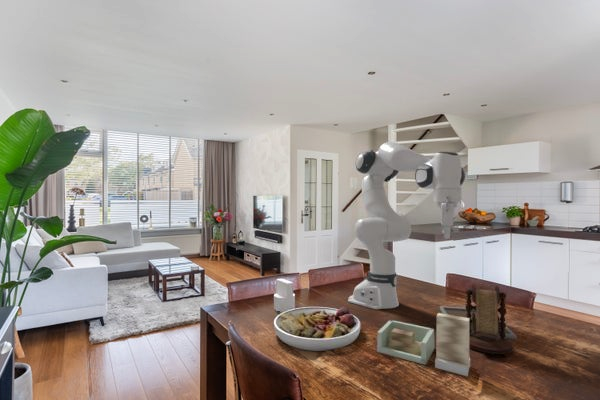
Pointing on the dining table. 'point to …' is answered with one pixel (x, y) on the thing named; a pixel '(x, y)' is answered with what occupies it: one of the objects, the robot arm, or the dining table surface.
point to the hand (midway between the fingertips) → (447, 237)
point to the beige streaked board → (452, 338)
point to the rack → (420, 335)
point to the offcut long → (406, 347)
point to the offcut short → (402, 336)
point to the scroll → (487, 321)
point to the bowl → (317, 328)
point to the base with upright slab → (284, 296)
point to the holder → (452, 366)
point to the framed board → (462, 313)
